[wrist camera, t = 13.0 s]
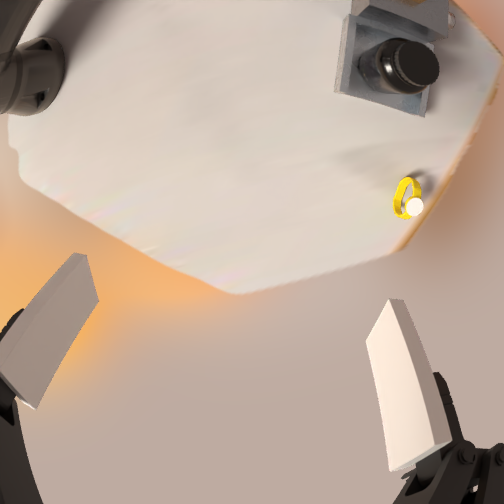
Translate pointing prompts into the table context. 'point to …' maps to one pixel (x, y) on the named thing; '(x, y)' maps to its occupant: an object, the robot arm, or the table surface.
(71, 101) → the table surface
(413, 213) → the watch
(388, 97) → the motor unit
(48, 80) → the robot arm
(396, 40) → the supplement bottle
